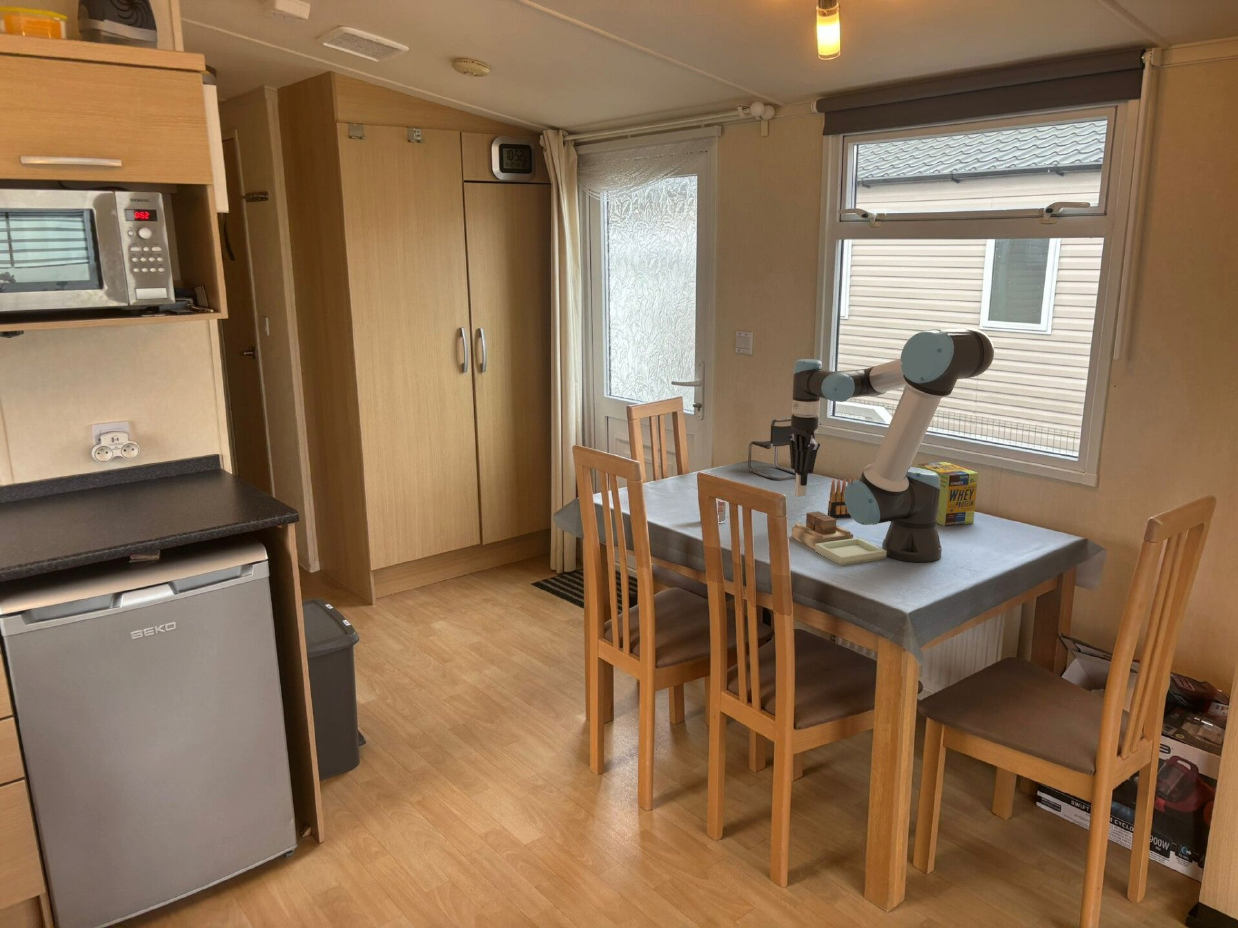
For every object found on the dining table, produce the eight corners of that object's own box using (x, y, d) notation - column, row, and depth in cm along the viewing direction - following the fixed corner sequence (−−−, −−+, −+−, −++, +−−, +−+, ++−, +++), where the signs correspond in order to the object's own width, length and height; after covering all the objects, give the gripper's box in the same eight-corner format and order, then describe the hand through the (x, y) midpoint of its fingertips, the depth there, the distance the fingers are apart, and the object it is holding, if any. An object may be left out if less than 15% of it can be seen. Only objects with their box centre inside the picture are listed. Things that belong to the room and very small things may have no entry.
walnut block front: (835, 533, 250) (836, 519, 249) (823, 534, 248) (824, 520, 247) (827, 529, 253) (827, 515, 252) (815, 530, 252) (815, 517, 251)
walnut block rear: (826, 528, 254) (826, 514, 253) (814, 530, 252) (814, 516, 251) (817, 524, 257) (818, 511, 256) (805, 526, 256) (806, 512, 255)
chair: (775, 481, 317) (778, 419, 312) (747, 471, 332) (749, 411, 327) (805, 477, 322) (808, 416, 317) (776, 467, 337) (778, 408, 332)
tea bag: (699, 521, 271) (699, 489, 268) (720, 520, 272) (721, 487, 270) (703, 525, 267) (704, 492, 265) (725, 523, 269) (725, 490, 266)
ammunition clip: (859, 514, 278) (861, 476, 275) (862, 516, 276) (864, 478, 273) (827, 517, 275) (829, 478, 272) (829, 518, 273) (832, 480, 271)
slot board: (852, 544, 250) (853, 531, 249) (815, 549, 245) (816, 536, 244) (827, 532, 260) (827, 519, 259) (791, 537, 256) (791, 524, 255)
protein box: (944, 526, 266) (949, 475, 262) (912, 512, 280) (916, 463, 276) (974, 523, 269) (979, 472, 265) (941, 509, 283) (945, 461, 280)
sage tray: (886, 558, 238) (886, 550, 238) (841, 565, 233) (841, 557, 233) (857, 545, 249) (858, 537, 249) (814, 551, 244) (815, 543, 243)
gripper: (781, 411, 259) (776, 490, 265) (806, 419, 248) (801, 502, 253) (803, 409, 262) (798, 488, 268) (829, 418, 250) (824, 500, 256)
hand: (800, 495), depth 261 cm, fingers closed
